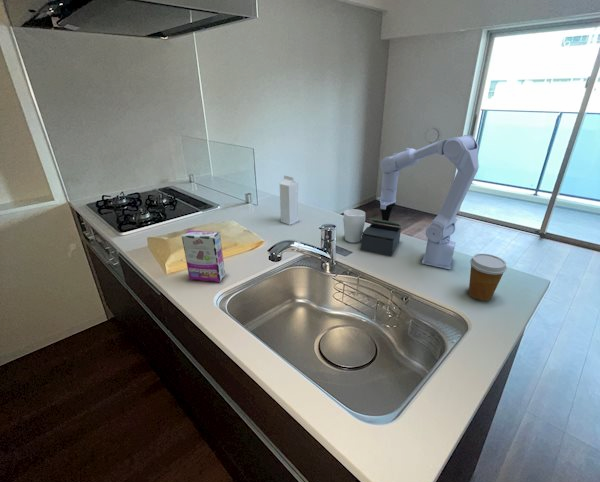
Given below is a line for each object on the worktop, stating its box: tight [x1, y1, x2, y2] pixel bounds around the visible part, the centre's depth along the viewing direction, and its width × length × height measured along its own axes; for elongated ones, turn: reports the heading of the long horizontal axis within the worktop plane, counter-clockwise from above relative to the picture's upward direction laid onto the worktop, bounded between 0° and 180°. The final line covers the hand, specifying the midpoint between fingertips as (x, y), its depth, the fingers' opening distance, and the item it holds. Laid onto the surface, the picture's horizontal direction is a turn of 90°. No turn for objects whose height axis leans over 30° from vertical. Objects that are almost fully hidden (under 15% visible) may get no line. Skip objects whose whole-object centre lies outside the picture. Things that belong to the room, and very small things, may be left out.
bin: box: [360, 222, 402, 257], centre depth 128 cm, size 14×12×7 cm
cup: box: [342, 208, 367, 244], centre depth 133 cm, size 9×9×12 cm
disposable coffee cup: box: [468, 253, 508, 302], centre depth 96 cm, size 10×10×12 cm
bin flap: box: [368, 217, 402, 228], centre depth 129 cm, size 7×12×1 cm, turn 63°
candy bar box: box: [181, 229, 226, 283], centre depth 106 cm, size 11×5×16 cm, turn 80°
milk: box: [279, 175, 299, 226], centre depth 150 cm, size 6×6×22 cm
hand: (385, 221), depth 129 cm, fingers closed
